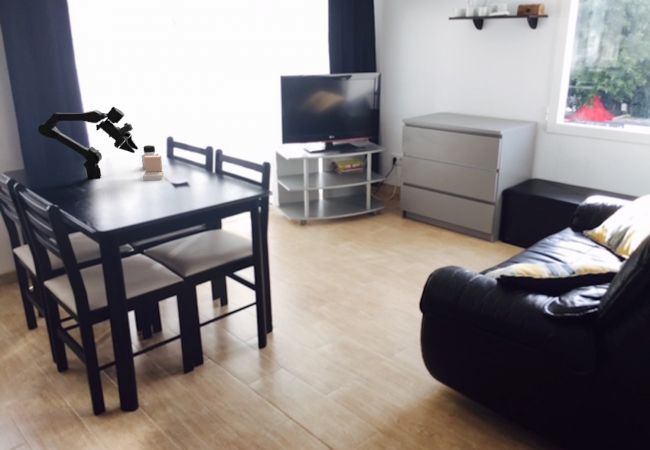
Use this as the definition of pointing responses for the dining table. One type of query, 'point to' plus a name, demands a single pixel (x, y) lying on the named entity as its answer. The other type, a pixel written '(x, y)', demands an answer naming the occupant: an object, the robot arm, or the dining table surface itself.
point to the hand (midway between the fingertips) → (136, 150)
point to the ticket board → (153, 175)
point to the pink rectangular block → (153, 163)
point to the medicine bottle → (148, 153)
